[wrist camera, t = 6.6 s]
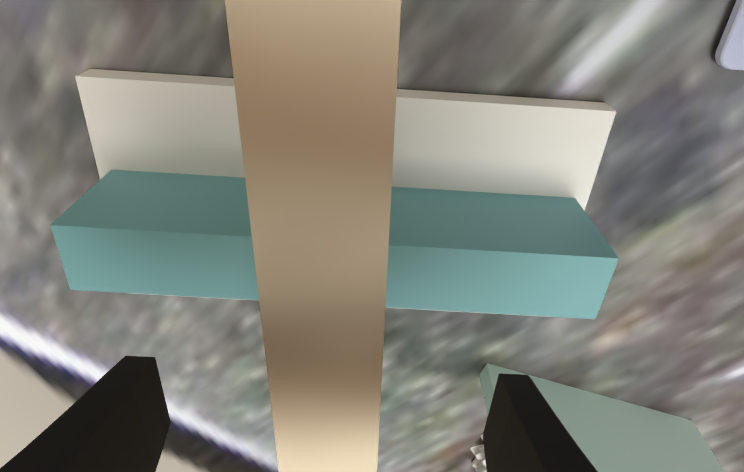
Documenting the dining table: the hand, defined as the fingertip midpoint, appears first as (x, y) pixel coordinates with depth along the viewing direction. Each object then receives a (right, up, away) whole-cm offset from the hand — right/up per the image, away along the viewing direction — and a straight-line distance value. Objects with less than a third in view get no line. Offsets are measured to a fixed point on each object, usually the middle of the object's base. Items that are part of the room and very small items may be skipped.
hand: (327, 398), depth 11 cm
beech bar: (0, +2, +5) cm, 5 cm away
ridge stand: (0, +5, +9) cm, 10 cm away
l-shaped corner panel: (+10, -9, +18) cm, 23 cm away
